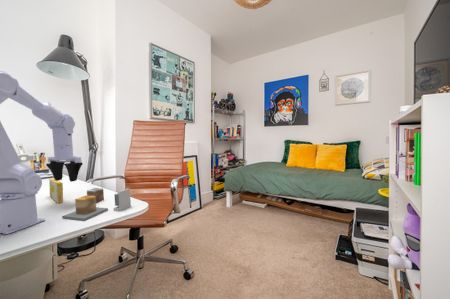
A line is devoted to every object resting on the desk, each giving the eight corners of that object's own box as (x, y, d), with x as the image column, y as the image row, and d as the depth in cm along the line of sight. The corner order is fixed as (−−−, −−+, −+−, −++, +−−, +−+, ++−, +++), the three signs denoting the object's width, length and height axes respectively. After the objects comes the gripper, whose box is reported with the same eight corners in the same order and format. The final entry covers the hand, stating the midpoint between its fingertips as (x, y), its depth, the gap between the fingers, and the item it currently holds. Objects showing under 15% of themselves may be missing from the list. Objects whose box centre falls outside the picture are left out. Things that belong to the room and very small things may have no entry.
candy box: (64, 202, 82) (62, 182, 81) (57, 204, 80) (55, 183, 80) (55, 195, 92) (54, 177, 92) (49, 196, 91) (48, 178, 90)
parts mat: (84, 220, 63) (84, 218, 63) (62, 218, 65) (62, 216, 65) (108, 210, 72) (107, 208, 72) (87, 208, 74) (87, 206, 74)
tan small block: (85, 214, 66) (84, 199, 66) (76, 213, 67) (75, 198, 67) (96, 210, 70) (95, 196, 69) (87, 209, 71) (86, 195, 70)
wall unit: (120, 211, 71) (119, 191, 70) (113, 210, 72) (112, 191, 71) (130, 206, 76) (129, 188, 75) (124, 205, 76) (123, 187, 76)
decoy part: (95, 203, 80) (94, 191, 79) (87, 202, 81) (86, 190, 80) (104, 200, 84) (103, 188, 83) (96, 199, 85) (95, 188, 84)
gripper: (87, 145, 80) (89, 179, 80) (60, 145, 83) (62, 177, 84) (69, 146, 73) (72, 183, 74) (40, 146, 77) (43, 181, 77)
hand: (65, 180), depth 79 cm, fingers open, 7 cm apart
